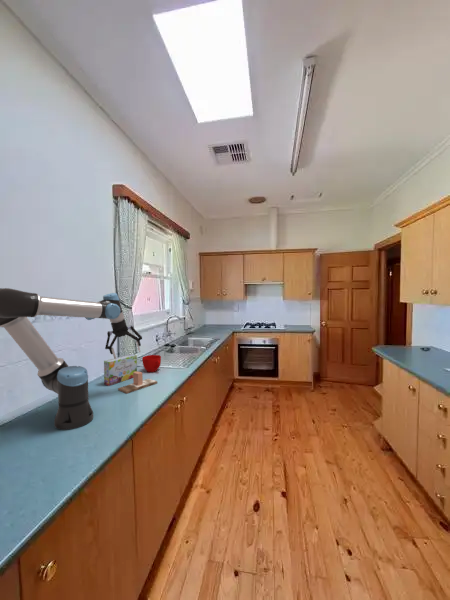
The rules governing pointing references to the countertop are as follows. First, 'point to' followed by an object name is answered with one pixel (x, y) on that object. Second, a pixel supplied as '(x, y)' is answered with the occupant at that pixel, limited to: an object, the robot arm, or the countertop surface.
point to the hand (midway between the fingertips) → (127, 355)
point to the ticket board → (130, 388)
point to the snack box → (119, 369)
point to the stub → (137, 379)
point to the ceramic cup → (151, 362)
